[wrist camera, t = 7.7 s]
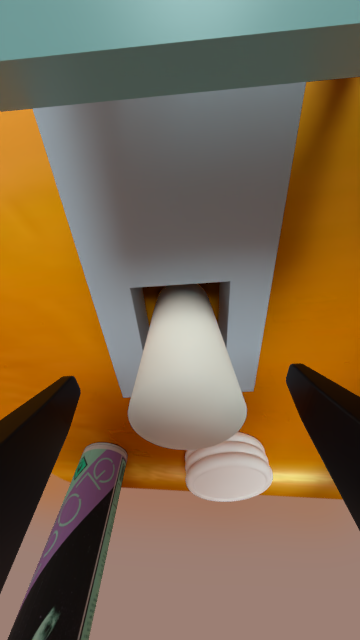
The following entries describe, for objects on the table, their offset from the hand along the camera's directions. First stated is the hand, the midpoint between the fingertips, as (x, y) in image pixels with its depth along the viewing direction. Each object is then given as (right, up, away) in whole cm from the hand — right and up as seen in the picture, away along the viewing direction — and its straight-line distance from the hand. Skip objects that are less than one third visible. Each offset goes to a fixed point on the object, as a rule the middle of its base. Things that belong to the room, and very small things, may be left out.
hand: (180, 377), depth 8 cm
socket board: (0, +6, +5) cm, 8 cm away
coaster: (+6, -14, +17) cm, 23 cm away
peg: (0, +3, +6) cm, 7 cm away
